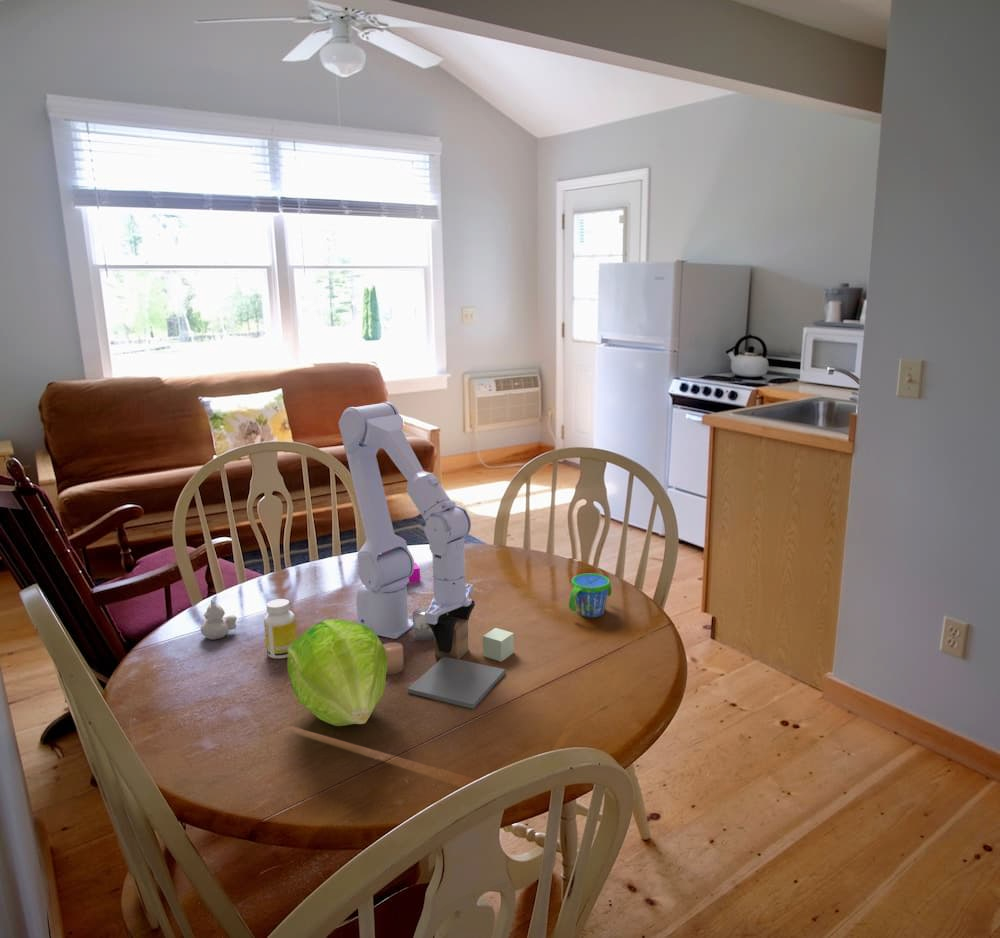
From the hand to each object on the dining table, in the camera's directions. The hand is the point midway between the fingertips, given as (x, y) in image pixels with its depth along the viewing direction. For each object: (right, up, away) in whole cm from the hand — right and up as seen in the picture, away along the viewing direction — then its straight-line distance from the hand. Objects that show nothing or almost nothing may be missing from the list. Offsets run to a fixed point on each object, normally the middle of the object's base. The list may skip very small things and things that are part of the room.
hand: (451, 645), depth 131 cm
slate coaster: (+2, -4, -10) cm, 11 cm away
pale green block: (+9, -2, 0) cm, 9 cm away
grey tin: (-6, 0, +7) cm, 9 cm away
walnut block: (0, -2, 0) cm, 2 cm away
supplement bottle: (-31, -2, +2) cm, 31 cm away
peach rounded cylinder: (-10, -3, -5) cm, 12 cm away
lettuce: (-15, -7, -22) cm, 27 cm away
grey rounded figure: (-45, -1, +9) cm, 46 cm away
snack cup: (+27, +2, +16) cm, 32 cm away
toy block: (-15, +6, +38) cm, 41 cm away
